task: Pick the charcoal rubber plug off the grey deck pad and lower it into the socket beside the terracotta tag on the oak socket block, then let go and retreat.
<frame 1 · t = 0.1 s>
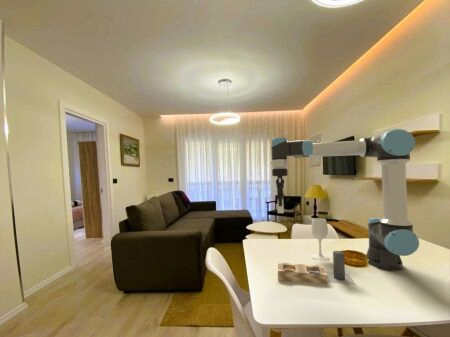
hand: (280, 210, 110), 28 cm above the table, fingers open, 13 cm apart
plug: (339, 277, 96), resting on deck pad
wineglass: (320, 258, 119), on the table
socket block: (301, 277, 98), on the table
deck pad: (339, 278, 96), on the table
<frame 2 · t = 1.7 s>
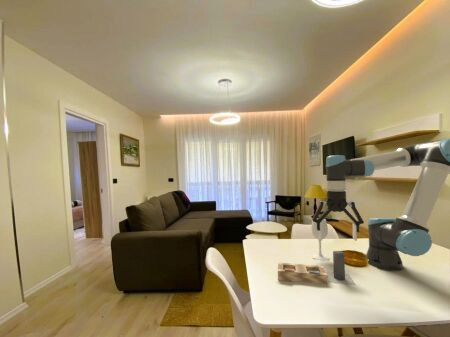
hand: (337, 238, 96), 17 cm above the table, fingers open, 13 cm apart
nothing on the table moved.
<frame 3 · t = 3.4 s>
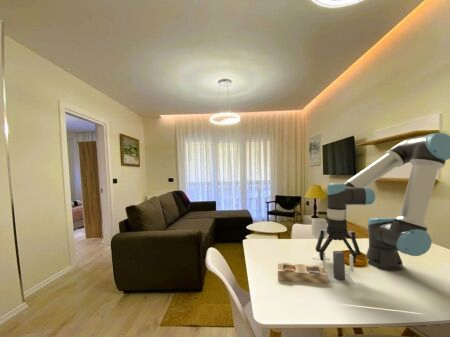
hand: (337, 269, 96), 4 cm above the table, fingers open, 10 cm apart
nothing on the table moved.
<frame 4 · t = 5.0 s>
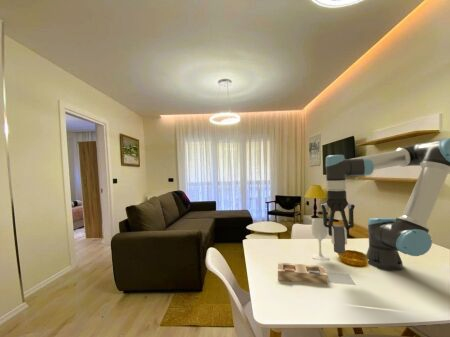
hand: (339, 243, 96), 15 cm above the table, fingers closed on plug, 4 cm apart
plug: (339, 251, 96), point 12 cm above the table, touching gripper
everything else where it was.
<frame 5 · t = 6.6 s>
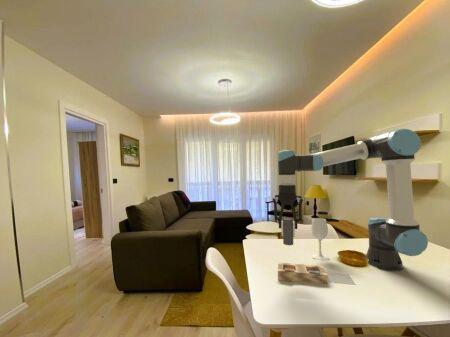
hand: (288, 235, 99), 18 cm above the table, fingers closed on plug, 4 cm apart
plug: (288, 243, 99), point 15 cm above the table, touching gripper
everything else where it was.
when the fingers open (5 cm above the table, at t = 9.2 s): plug drops 2 cm, resting in socket block.
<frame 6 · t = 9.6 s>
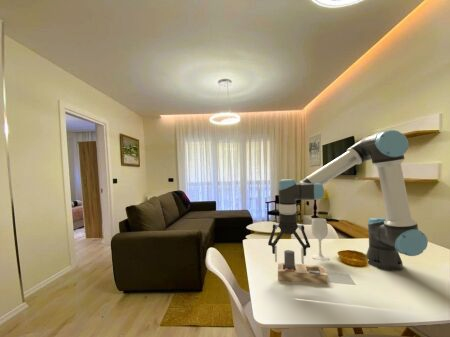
hand: (289, 261, 99), 6 cm above the table, fingers open, 11 cm apart
plug: (289, 276, 99), resting in socket block
everything else where it was.
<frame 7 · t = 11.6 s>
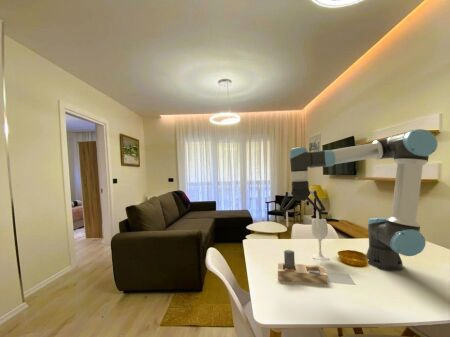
hand: (302, 226, 102), 22 cm above the table, fingers open, 13 cm apart
nothing on the table moved.
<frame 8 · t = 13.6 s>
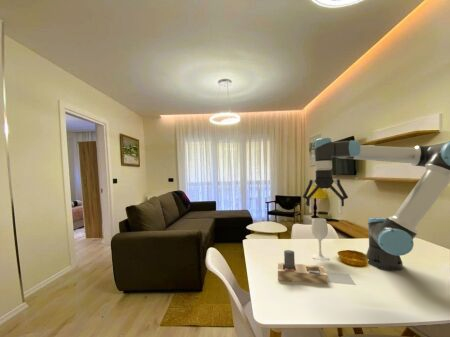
hand: (325, 212, 108), 27 cm above the table, fingers open, 13 cm apart
nothing on the table moved.
at the end: plug 0.1 cm from the target spot on the socket block, point 0.0 cm above the socket block's base; plug tilted 0°; the gripper is holding nothing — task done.
